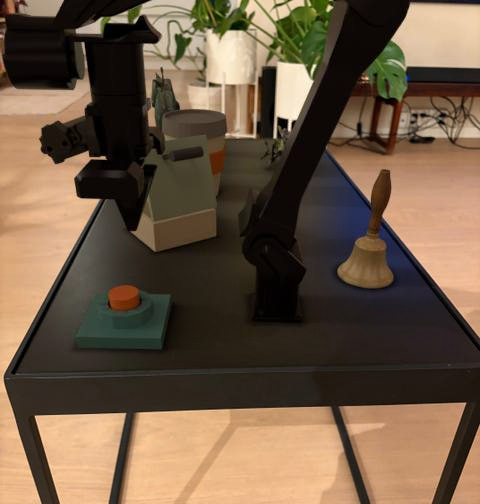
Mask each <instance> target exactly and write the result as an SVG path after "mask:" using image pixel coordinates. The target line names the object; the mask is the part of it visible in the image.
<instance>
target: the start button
mask: <svg viewBox="0 0 480 504" xmlns="http://www.w3.org/2000/svg"><path fill="white" fill-rule="evenodd" d="M138 290H139V289H138V288H137V287H135V286H133V285H130V284H129V285H118V286H115V287H113V288H111V289H110V290H109V291H108V293H109V300H110V307H111V308H112V309H113V310H116V311H128V310H132V309H135V308H137V307H138V306H139V305H140V298H139V291H138Z"/></svg>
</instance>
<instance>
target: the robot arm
mask: <svg viewBox="0 0 480 504" xmlns="http://www.w3.org/2000/svg"><path fill="white" fill-rule="evenodd" d="M152 1H153V0H63V1H62V3H61V4H60V7H59V8H58V11H57V12H56V15H31V14H28V13H23V12H11V13H10V12H9V13H6V14H5V15H4V17H3V18H4V23H5V31H4V35H3V52H4V53H3V54H2V60H3V65H4V69H5V72H6V75H7V77H8V80H9V82H10V84H11V85H12V86H13V88H14V89H16V90H31V91H32V90H33V91H34V90H35V91H38V90H40V91H74V90H75V89H76V86H77V81H83V80H84V78H85V74H86V68H87V76H88V83H89V90H90V99H91V101H90V102H89V103H88V104H86V106H85V107H84V109H83V110H84V115H82V116H79V117H76V118H73V119H71V120H69V121H66V122H61V120H55V121H54V122H52V123H50V124H48V123H47V124H45V125H44V126H42V127H41V128H40V134H41V135H40V136H39V138H38V140H39V142H40V144H41V145H40V152H41V153H42V154H43V155H47V156H48V157H49V158H51V160H52V161H53V164H54V165H59V164H62V163H65V161H66V160H68V159H70V158H73V157H76V156H78V155H81V154H84V153H87V152H88V157H89V158H90V160H89V161H87V163H86V164H85V165H84V166H83V167H82V168H81V170H80V171H79V172H78V173H77V174H76V175H75V176H74V178H73V182H74V187H75V194H76V197H77V198H79V199H82V200H113V201H114V203H115V205H116V207H117V210H118V212H119V214H120V217H121V219H122V222H123V223H124V225H125V228H126V231H128V232H130V231H137V229H138V226H139V223H140V220H141V216H142V213H143V210H144V207H145V204H146V201H147V198H148V195H149V192H150V189H151V186H152V182H153V179H154V176H155V173H156V170H157V167H158V166H157V165H155V164H145V159H144V158H146V157H147V156H148V154H149V152H150V151H151V149H156V152H157V155H162V154H163V152H164V150H165V136H164V133H163V132H162V131H161V130H160V129H159V128H158V127H156V125H155V126H152V125H150V122H149V111H150V110H151V108H152V104H151V97H148V96H147V83H146V69H145V56H144V55H145V54H144V45H157V44H159V42H161V40H162V39H163V35H162V33H161V31H159V30H158V29H157V28H156V27H155V26H153V24H152V23H151V22H150V19H149V18H148V16H147V14H143V13H142V14H141V15H139V16H138V18H137V20H136V21H135V22H129V23H128V22H106V23H104V26H103V28H102V29H103V31H102V33H84V32H83V33H79V32H78V33H77V30H79V29H82V28H84V27H87V26H89V25H92V24H95V23H97V22H98V21H99V20H100V19H101V18H112V17H115V16H119V15H121V14H124V13H127V12H129V11H131V10H133V9H135V8H138V7H140V6H143V5H145V4H147V3H150V2H152ZM331 1H332V2H334V3H333V6H332V7H333V8H332V11H331V15H330V18H329V23H328V26H327V32H326V33H327V34H326V39H325V45H324V51H323V57H322V59H321V63H320V65H319V67H318V69H317V72H316V75H315V76H314V78H313V82H312V83H311V86H310V89H309V90H308V93H307V95H306V97H305V100H304V102H303V104H302V107H301V109H300V111H299V113H298V115H297V118H296V120H295V123H294V125H293V127H292V129H291V131H290V132H291V134H290V136H289V139H288V141H287V143H286V146H285V148H284V150H283V153H282V155H281V156H279V157H280V158H279V160H278V162H277V164H276V166H275V169H274V171H273V174H272V176H271V178H270V180H269V181H268V182H267V184H266V185H265V186H264V187H263V188H262V189H261V190H260V191H259V190H257V189H255V188H253V187H249V190H248V192H247V198H246V201H245V204H244V206H243V208H242V209H241V210H240V211H239V212H238V214H237V218H238V219H237V220H238V235H239V238H240V239H241V242H240V243H241V253H242V256H243V257H244V260H245V261H247V262H248V263H249V264H250V265H251V266H252V267H253V266H254V267H255V283H254V285H255V286H254V292H252V293H251V294H250V297H251V298H250V301H251V302H250V303H251V304H250V306H251V320H252V321H253V322H288V323H289V322H293V323H300V322H302V321H303V314H302V309H301V303H300V297H299V291H300V284H301V283H302V282H303V279H304V277H305V275H306V274H307V271H308V270H307V267H306V264H305V260H304V257H303V253H302V249H301V246H300V242H299V239H298V238H297V237H296V235H295V234H296V231H297V225H298V219H299V213H300V207H301V202H302V199H303V197H304V196H305V193H306V191H307V189H308V187H309V185H310V182H311V180H312V179H313V177H314V174H315V172H316V170H317V168H318V166H319V164H320V162H321V160H322V158H323V155H324V153H325V151H326V150H327V149H326V148H327V147H328V145H329V143H330V140H331V138H332V137H333V134H334V133H335V130H336V128H337V126H338V124H339V122H340V120H341V118H342V116H343V113H344V111H345V109H346V108H347V105H348V103H349V101H350V98H351V97H352V95H353V93H354V90H355V88H356V86H357V84H358V82H359V80H360V78H361V77H362V76H363V75H364V74H365V72H366V71H367V70H368V69H369V68H370V66H371V65H373V63H374V62H375V61H376V60H377V59H378V58H379V56H381V55H382V53H383V52H384V51H385V49H386V48H387V46H388V45H389V43H390V42H391V41H392V39H393V38H394V36H395V34H396V33H397V32H398V30H399V29H400V27H401V26H402V24H403V23H404V21H405V20H406V18H407V15H408V13H409V9H410V7H411V0H331ZM83 44H84V45H83ZM83 46H84V48H83ZM85 60H86V61H85ZM101 157H105V159H104V158H103V159H100V158H101ZM98 158H99V159H98Z"/></svg>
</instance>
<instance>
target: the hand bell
mask: <svg viewBox="0 0 480 504" xmlns="http://www.w3.org/2000/svg"><path fill="white" fill-rule="evenodd" d="M391 195H392V178H391V170H390V169H386V168H381V170H380V171H379V173H378V176H377V178H376V179H375V181H374V183H373V186H372V188H371V193H370V210H371V211H370V212H371V213H370V219H369V223H368V227H367V231H366V235H365V236H362V237H361V236H360V237H359V238H357V239H356V241H355V242H354V246H353V249H352V251H351V253H350V256H349V257H348V259H347V260H346V261H344V262H343V263H341V264H340V265H339V266H338V268H337V275H338V277H339V278H340V279H341V280H342V281H343V282H345V283H346V284H349V285H351V286H354V287H358V288H362V289H370V290H371V289H374V290H375V289H381V288H387V287H388V286H389V285H391V284H392V283H393V281H394V274H393V272H392V270H391V269H390V268H389V266H388V263H387V243H386V242H385V240H383V239H381V238H380V237H379V236H380V232H381V225H382V219H383V215H384V213H385V211H386V209H387V207H388V205H389V203H390V199H391Z"/></svg>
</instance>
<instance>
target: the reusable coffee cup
mask: <svg viewBox="0 0 480 504" xmlns="http://www.w3.org/2000/svg"><path fill="white" fill-rule="evenodd" d="M162 132H163V133H164V136H165V141H166V140H173V139H180V138H186V137H193V136H200V135H206V138H207V144H208V151H209V157H210V163H211V170H212V176H213V182H214V189H215V195H216V197H217V196H218V195H219V189H220V182H221V174H222V172H223V171H224V167H225V160H226V150H227V146H226V144H225V142H226V135H227V133H228V122H227V114H225V113H223V112H221V111H218V110H212V109H203V108H183V109H180V110H174V111H170V112H167V113H165V114H163V117H162Z"/></svg>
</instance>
